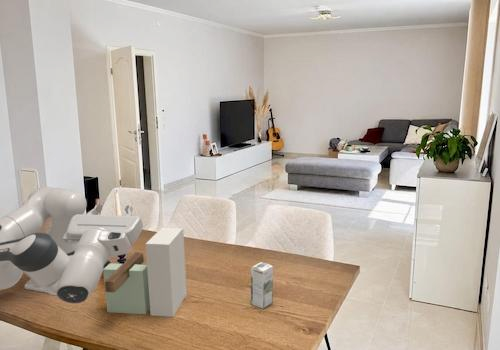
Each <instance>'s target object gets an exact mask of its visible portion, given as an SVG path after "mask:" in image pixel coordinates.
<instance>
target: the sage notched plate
mask: <svg viewBox="0 0 500 350" xmlns="http://www.w3.org/2000/svg"><path fill="white" fill-rule="evenodd" d="M123 264H124V263H113V262H110V263H108V264H107V265H106V266H104V267H103V273H102V274H103V282H104V285H105V281H106V280H107V279H108V278H109V277H110V276H111V275H112V274H113V273H114V272H115V271H116V270H117V269H119V268H120V267H121V266H122V265H123ZM104 291H105V294H104V295H105V302H106V312H107V313H116V314H117V313H118V314H132V315H147V313H148V312H149V311H150V299H149V285H148V272H147V264H141V265H138V264H135V265H134V266H133V267H132V268H131V269H130V270H129V278H128V279H127V280H126V281H125V282H124V283H123V284H122V285H121V286H120V287H119V288H118V289H117V290H116V291H115V292H106V290H105V289H104Z"/></svg>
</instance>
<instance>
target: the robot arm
mask: <svg viewBox="0 0 500 350" xmlns="http://www.w3.org/2000/svg"><path fill="white" fill-rule="evenodd" d="M87 203H88V202H87V199H86V197H85V195H83V194H82V193H80V192H78V191H75V190H72V189H68V188H67V189H65V188H58V187H51V186H41V187H36V188H34V189H33V190H32V191H31V192H30V193H29V194H28V197H27V200H26V201H25V202H24V203H23V204H22V205H20V206H19V207H17V208H15V209H14V210H12V211H11V212H9V213H7V214H6V215H4V216H2V217H1V218H0V291H1V290H7V289H10V288H12V287H13V286H15V285H16V284H17V283H18V282H19V281H20V279H21V278H22V276H23V274H24V273H25V274H26V275H27V276H28V277H29V278H30V279H29V280H28V281H26V283H25V284H24V289H25V290H29V291H36V292H41V293H46V294H50V295H51V296H53V297H58V298H59V299H60V300H61V301H63V302H65V303H68V304H81V303H83V302H86V300H88V299H89V298H90V297H91V295H92V294H93V292H94V291H95V289H96V287H97V285H98V283H99V282H100V279H101V278H102V275H103V274H104V273H103V269H104V268H105V265H106V263H107V262H108V261H109V259H112V258H114V257H118V256H122V255H127V254H129V253H131V251H132V246H131V245H133V244H135V242H137V240H138V238H139V236H140V234H141V232H142V229H143V227H144V224H143V221H142V218H141V217H140V215H133V210H134V208H133V206H132V205H125V208H124V212H125V213H126V214H125V215H123V214H122V215H120V214H119V215H118V214H114V215H113V214H101V213H102V211H103V206H102V205H101V204H96V205H95V206H94V208H92V209H91V210H89V211H88V212H86V209H87V206H88V205H87ZM85 212H86V214H84V213H85ZM49 218H51V223H50V227H49V228H48V229H47V230H46V231H45V232H41V231H42V229H43V227H44V222H45V221H47V219H49Z"/></svg>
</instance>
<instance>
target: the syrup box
mask: <svg viewBox="0 0 500 350" xmlns="http://www.w3.org/2000/svg"><path fill="white" fill-rule="evenodd" d="M273 295H274V266H273V265H271V264H269V263H266V262H262V261H261V262H259V263H256V264H255V265H253V266H251V267H250V304H251V306H255V307H258V308H260V309H263V310H264V309H265V308H267V307H269V306H270V305H272V304H273V303H274V301H273V300H274V297H273Z"/></svg>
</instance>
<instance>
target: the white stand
mask: <svg viewBox="0 0 500 350" xmlns="http://www.w3.org/2000/svg"><path fill="white" fill-rule="evenodd" d="M184 235H185V234H184V228H179V227H161V228H160V229H159V230H158V231H157V232H156V233H155V234H154V235H153V236H152V237H150V239H149V240H148V241H147V242H146V243H145V255H146V265H147V272H148V285H149V299H150V309H149V312H150V313H149V314H150V316H151V317H152V316H155V317H165V318H167V317H168V318H169V317H171V318H174V316H175V315H176V313H177V312H178V310H179V308H180V306H181V305H182V303H183V301H184V299H185V298H186V296H187V295H188V294H187V291H188V290H187V275H186V274H187V273H186V260H185V259H186V256H185V255H186V254H185V240H184V239H185V238H184Z"/></svg>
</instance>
